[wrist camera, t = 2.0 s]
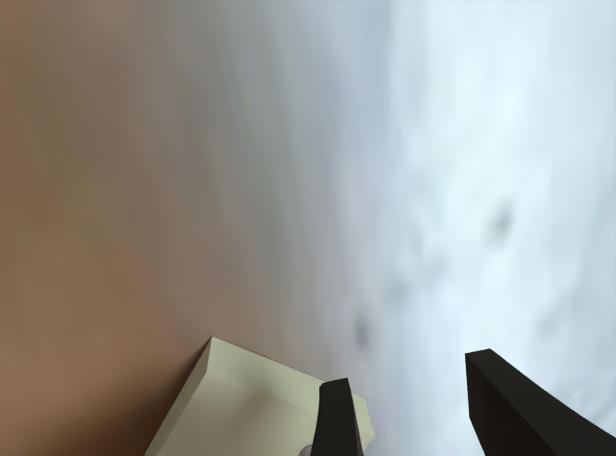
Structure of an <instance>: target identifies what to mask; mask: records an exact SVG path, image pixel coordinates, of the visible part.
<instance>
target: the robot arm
mask: <svg viewBox="0 0 616 456" xmlns="http://www.w3.org/2000/svg"><path fill="white" fill-rule="evenodd" d="M465 362H466V376H467V390H468V404H469V418H470V420H471V422H472V425H473V427H474V430H475V432H476V435H477V437H478V440H479V442H480V444H481V447H482V449H483V451H484V454H485V456H616V438H615V437H614V436H612V435H610V434H609V433H607V432H605V431H604V430H602V429H601V428H599V427H598V426H596V425H595V424H593V423H591V422H590V421H588V420H587V419H585V418H584V417H582V416H581V415H579V414H578V413H576V412H575V411H573V410H572V409H570V408H569V407H568V406H566V405H565V404H563V403H562V402H560V401H559V400H558V399H556V398H555V397H553V396H552V395H551V394H549V393H548V392H546V391H545V390H544V389H542V388H541V387H540V386H538V385H537V384H536V383H534V382H533V381H532V380H530V379H529V378H528V377H526V376H525V375H524V374H522V373H521V372H520V371H518V370H517V369H516V368H515V367H513V366H512V365H511V364H510V363H508V362H507V361H506V360H504V359H503V358H502V357H501V356H499V355H498V354H497V353H495V352H494V351H493V350H491V349H485V350H480V351H475V352H470V353H465ZM310 456H364V455H363V449H362V444H361V439H360V434H359V428H358V423H357V418H356V413H355V408H354V402H353V398H352V394H351V390H350V386H349V382H348V378H344V379H339V380H334V381H329V382H324V383H322V384H321V386H320V387H319V407H318V416H317V422H316V429H315V434H314V438H313V443H312V448H311V453H310Z"/></svg>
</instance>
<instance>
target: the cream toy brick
mask: <svg viewBox="0 0 616 456" xmlns="http://www.w3.org/2000/svg"><path fill="white" fill-rule="evenodd" d="M324 382H325V381H322V380H320V379H317V378H315V377H312V376H310V375H307V374H305V373H302V372H300V371H297V370H295V369H292V368H290V367H287V366H285V365H282V364H280V363H277V362H275V361H272V360H270V359H267V358H265V357H262V356H260V355H258V354H255V353H253V352H250V351H248V350H245V349H243V348H240V347H238V346H235V345H233V344H230V343H228V342H225V341H223V340H220V339H218V338H215V337H213V336H212V338H211V339H210V341H209V343H208V344H207V346H206V348H205V350H204V351H203V353H202V355H201V357H200V358H199V360H198V362H197V364H196V365H195V367H194V369H193V371H192V372H191V374H190V376H189V377H188V379H187V381H186V383H185V384H184V386H183V388H182V390H181V391H180V393H179V395H178V397H177V398H176V400H175V402H174V404H173V405H172V407H171V409H170V410H169V412H168V414H167V416H166V417H165V419H164V421H163V423H162V424H161V426H160V428H159V430H158V431H157V433H156V435H155V437H154V438H153V440H152V442H151V444H150V445H149V447H148V449H147V450H146V452H145V456H310V453H311V448H312V443H313V438H314V434H315V429H316V422H317V416H318V407H319V387H320V386H321V384H322V383H324ZM351 394H352V398H353V402H354V408H355V413H356V418H357V423H358V428H359V434H360V439H361V444H362V449H363V450H364V449H365V448H366V446H367V445H368V444H369V442H370V441H371V440H372V438H373V437H374V432H373V428H372V424H371V420H370V417H369V413H368V409H367V405H366V402H365V398H364V397H362V396H360V395H357V394H355V393H352V392H351Z"/></svg>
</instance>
